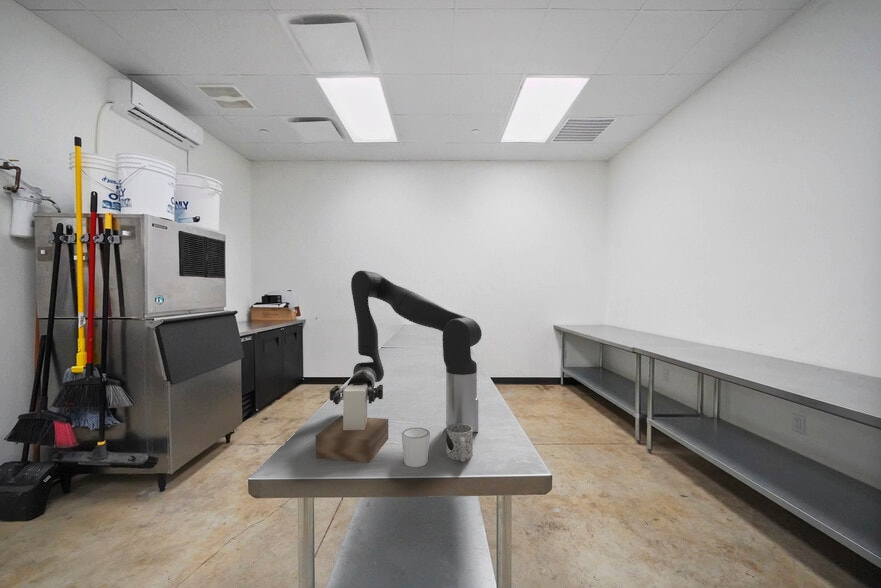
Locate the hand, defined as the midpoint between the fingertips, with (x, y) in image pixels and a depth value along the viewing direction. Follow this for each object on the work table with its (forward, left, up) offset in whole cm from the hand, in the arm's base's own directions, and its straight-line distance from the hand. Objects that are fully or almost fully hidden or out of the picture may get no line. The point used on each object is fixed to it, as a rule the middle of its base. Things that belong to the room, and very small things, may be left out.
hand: (353, 400), depth 89 cm
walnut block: (0, -2, -13) cm, 14 cm away
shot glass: (-16, +7, -13) cm, 22 cm away
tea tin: (0, -2, -7) cm, 8 cm away
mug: (-27, +6, -13) cm, 31 cm away
